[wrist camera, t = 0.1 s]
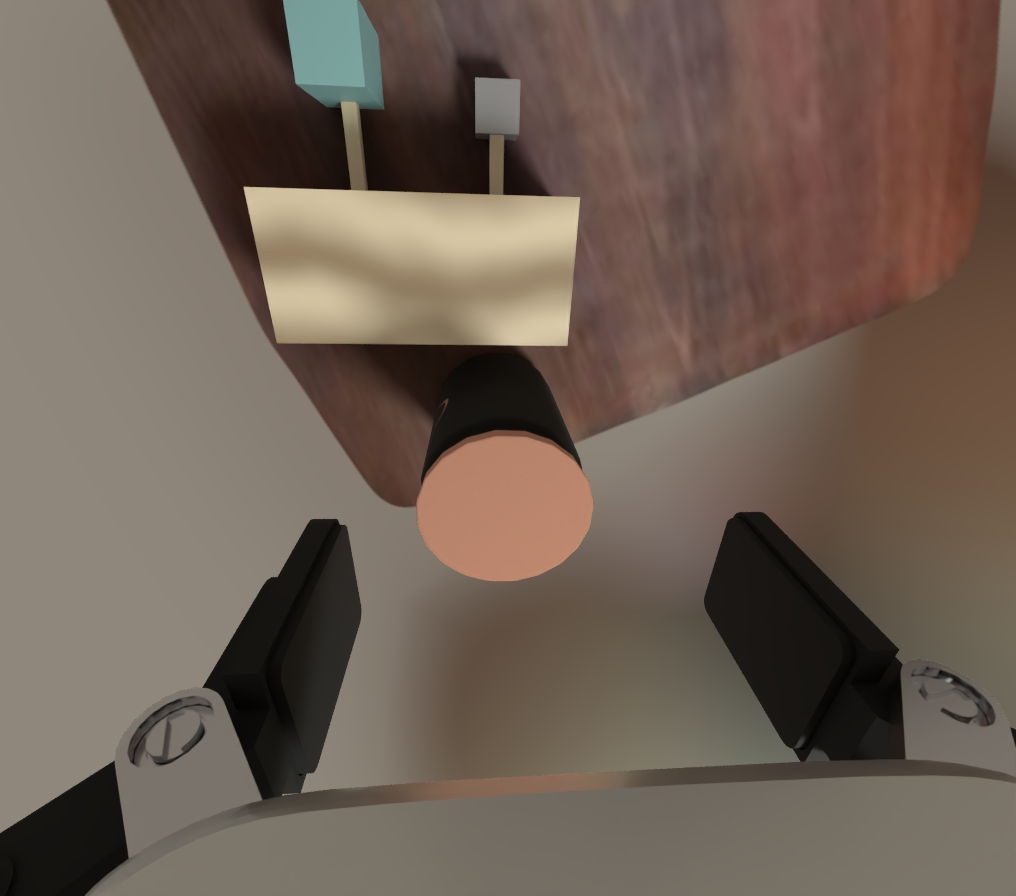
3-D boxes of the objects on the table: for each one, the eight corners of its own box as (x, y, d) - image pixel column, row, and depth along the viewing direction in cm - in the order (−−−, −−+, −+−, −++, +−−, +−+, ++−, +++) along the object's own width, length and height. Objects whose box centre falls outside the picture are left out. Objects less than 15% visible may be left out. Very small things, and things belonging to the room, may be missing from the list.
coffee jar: (429, 356, 40) (397, 446, 24) (547, 342, 40) (593, 424, 24) (448, 459, 45) (432, 591, 29) (553, 447, 45) (595, 572, 29)
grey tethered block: (461, 86, 31) (458, 64, 27) (531, 90, 31) (540, 68, 27) (465, 294, 38) (463, 304, 33) (523, 295, 38) (529, 305, 33)
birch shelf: (300, 195, 34) (243, 186, 25) (556, 203, 35) (580, 197, 27) (320, 316, 38) (277, 343, 29) (548, 319, 39) (567, 345, 31)
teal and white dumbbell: (309, 32, 29) (272, -10, 24) (385, 36, 30) (365, -4, 24) (345, 292, 37) (322, 304, 32) (405, 293, 37) (393, 305, 32)
